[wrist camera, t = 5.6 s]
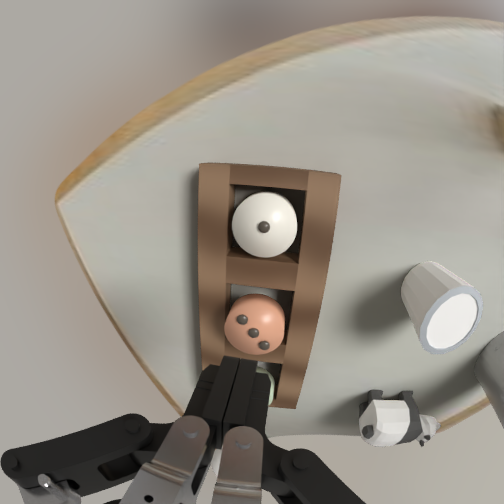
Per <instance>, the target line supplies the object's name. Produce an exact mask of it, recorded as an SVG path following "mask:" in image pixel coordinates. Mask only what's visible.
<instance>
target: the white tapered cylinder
mask: <svg viewBox="0 0 504 504" xmlns="http://www.w3.org/2000/svg"><path fill="white" fill-rule="evenodd" d="M401 298H402V301H403V303H404V305H405V307H406V309H407V312H408V314H409V316H410V319H411V321H412V323H413V326H414V328H415V330H416V333H417V335H418V338H419V340H420V342H421V344H422V347H423V349H424V350H426V351H428V352H429V353H431V354H444V353H447V352H449V351H452V350H455V349H456V348H457V347H459V346H460V345H461V344H463V343H464V342H465V341H466V340H467V339H468V338H469V337H470V336H471V334H472V333H473V332H474V331H475V329H476V327H477V325H478V323H479V321H480V319H481V315H482V309H483V302H482V297H481V294H480V293H479V292H478V291H477V290H476V289H475V288H474V287H473V286H471V285H470V284H469V283H467V282H466V281H464V280H463V279H461V278H460V277H458V276H457V275H455V274H454V273H452V272H451V271H449V270H447V269H446V268H444V267H443V266H441V265H440V264H438V263H436V262H431V261H426V262H423V263H419V264H418V265H416V266H415V267H414V268H412V269H411V270H410V271H409V273H408V274H407V275H406V277H405V278H404V281H403V284H402V287H401Z"/></svg>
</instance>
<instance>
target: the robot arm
mask: <svg viewBox="0 0 504 504" xmlns="http://www.w3.org/2000/svg"><path fill="white" fill-rule="evenodd" d="M257 363H258V361H256V360H250V359H244V358H241V361H240V358H237V357H231V356H226V355H224V356H223V359H222V361H221V364H220V366H218V365H213V364H210V365H209V366H208V367H206V368H205V369H204V370H203V371H202V373H201V376H200V378H199V381H198V383H197V385H196V388H195V390H194V392H193V394H192V397H191V399H190V402H189V404H188V406H187V409H186V411H185V413H184V415H183V416H182V417H180V418H178V419H177V420H176V421H175V422H172V423H168V424H158V423H149V421H148V420H147V419H146V418H145V417H143V416H142V415H139V414H126V415H123V416H121V417H118V418H115V419H113V420H110V421H107V422H105V423H102V424H99V425H96V426H93V427H90V428H88V429H84V430H81V431H78V432H75V433H72V434H68V435H65V436H62V437H58V438H55V439H52V440H48V441H44V442H40V443H36V444H32V445H28V446H24V447H19V448H15V449H10V450H7V451H6V452H4V454H3V455H2V457H1V467H2V470H3V471H4V473H5V474H6V475H7V476H8V477H10V478H11V479H12V480H13V481H14V482H15V483H16V484H17V485H18V487H19V490H20V492H21V495H22V498H23V501H24V503H25V504H81V497H83V496H86V495H90V494H93V493H96V492H99V491H102V490H105V489H108V488H111V487H113V486H116V485H119V484H122V483H124V482H127V481H129V480H132V479H134V480H133V482H132V483H131V485H130V486H129V488H128V490H127V492H126V493H125V495H124V497H123V498H122V499H118V500H113V501H110V502H107V503H104V504H196V500H197V496H198V494H199V491H200V489H201V486H202V484H203V482H204V480H205V477H206V475H207V472H208V470H209V467H210V465H211V461H212V458H213V455H214V451H215V449H220V450H221V449H222V454H221V460H220V465H219V471H218V477H217V482H216V484H215V488H214V492H213V498H212V503H211V504H261V499H262V490H261V489H264V490H266V491H269V492H271V494H272V496H273V497H274V498H275V499H276V501H277V502H278V503H279V504H366V503H365V502H363V501H362V500H361V499H360V498H359V497H358V496H357V495H356V494H355V493H354V492H353V491H352V490H351V489H350V488H348V487H347V486H346V485H345V484H344V483H343V482H342V481H341V480H340V479H339V478H338V477H337V476H336V475H335V474H334V473H333V472H332V471H331V470H330V469H329V468H328V467H327V466H326V465H325V464H324V463H323V462H322V460H321V459H320V458H319V457H318V456H317V455H316V454H315V453H313V452H312V451H309V450H307V449H293V450H290V451H288V450H285V449H282V448H280V447H278V446H276V445H274V444H272V443H271V442H270V441H269V440H268V438H267V437H266V434H265V424H266V418H267V411H268V404H269V397H270V389H271V381H270V378H269V376H268V374H266V373H259V372H256V370H257ZM474 374H475V376H476V378H477V379H478V381H479V383H480V385H481V386H482V388H483V390H484V392H485V393H486V395H487V397H488V399H489V401H490V403H491V404H492V406H493V408H494V410H495V412H496V414H497V416H498V418H499V420H500V422H501V424H502V426H503V428H504V331H503V332H501V333H500V334H498V335H497V336H496V337H495V338H493V339H492V340H491V341H490V342H489V344H488V345H487V346H486V347H485V348H484V350H483V351H482V352H481V354H480V356H479V357H478V359H477V361H476V364H475V367H474ZM222 445H223V448H222Z"/></svg>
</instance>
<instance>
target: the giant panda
mask: <svg viewBox="0 0 504 504" xmlns="http://www.w3.org/2000/svg"><path fill="white" fill-rule="evenodd" d="M382 394H383V391H381V390H371V391H370V392H369V393H368V401H369V402H367V403H362V404H361V405H360V415H359V429H360V433H361V437H362V439H363V440H364V441H365V442H367V443H368V444H370V445H372V446H375V447H386V446H391V445H396V444H401V443H407V442H411V441H413V440H414V439H416V440H417V441H419V442H420V445H421V446H424V443H425V442H427V441H428V440H430V439H431V438H432V437H433V436H434V434H435V432H436V430H438V429H439V428H440V427H441V425H440V423H439V422H436V419H435V417H432V416H428V415H422V414H419V411H418V408H417V406H416V403H415V401H414V399H413V398H412V394H413V391H402V392H401V393H400V394H399V399H400V400H383V399H382V398H381V396H382Z"/></svg>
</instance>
